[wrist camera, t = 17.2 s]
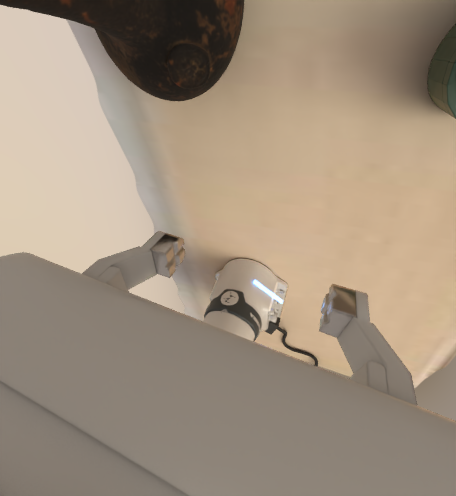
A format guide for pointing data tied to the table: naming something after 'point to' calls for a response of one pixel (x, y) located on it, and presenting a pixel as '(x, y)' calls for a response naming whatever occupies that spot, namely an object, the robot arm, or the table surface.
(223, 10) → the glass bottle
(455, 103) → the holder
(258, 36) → the table surface
